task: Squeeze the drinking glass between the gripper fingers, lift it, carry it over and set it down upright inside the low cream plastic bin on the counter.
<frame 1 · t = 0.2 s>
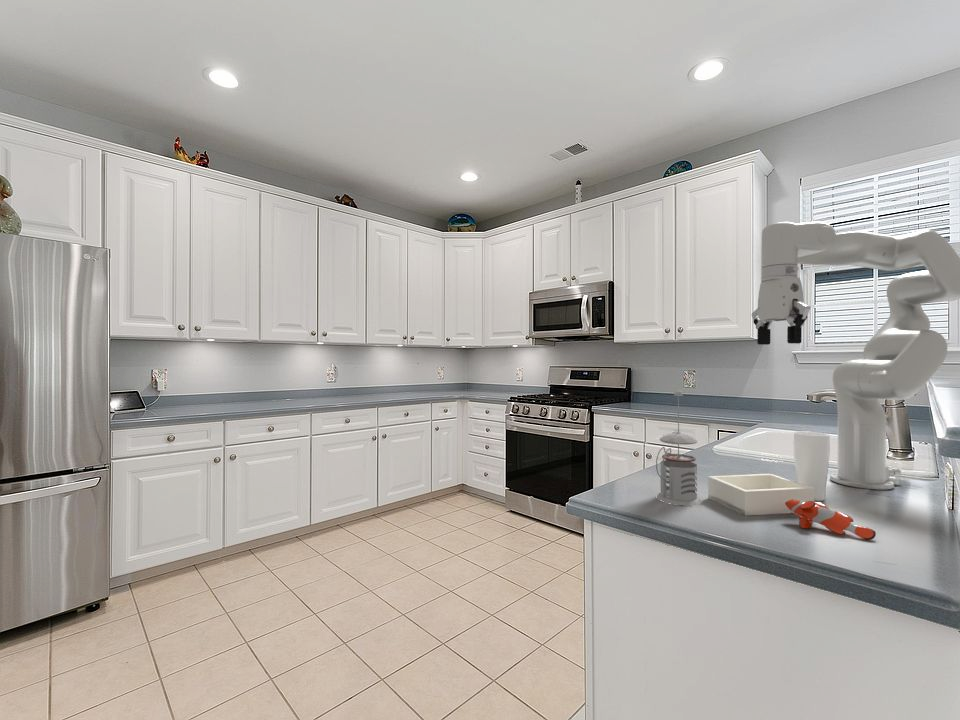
hand: (778, 343, 113), 36 cm above the counter, tool pointing down, fingers open, 9 cm apart
fish: (822, 533, 87), on the counter
bin: (758, 504, 101), on the counter
french press: (676, 500, 105), on the counter
drinking glass: (811, 499, 105), on the counter
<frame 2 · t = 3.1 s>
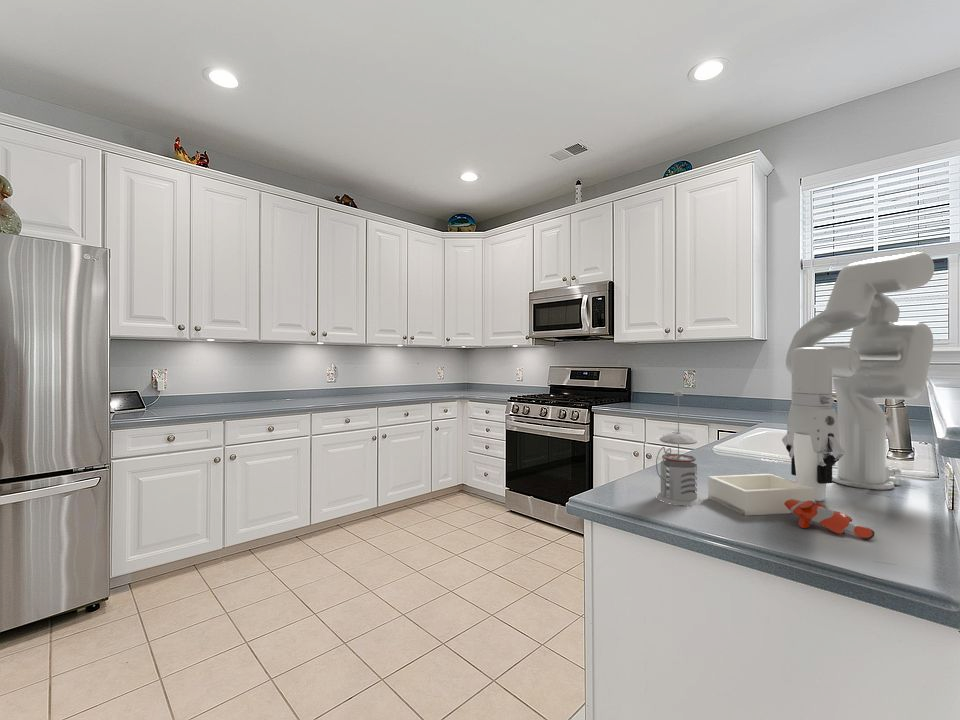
hand: (811, 478, 105), 5 cm above the counter, tool pointing down, fingers closed on drinking glass, 6 cm apart
drinking glass: (811, 499, 105), on the counter, touching gripper
everything else where it was.
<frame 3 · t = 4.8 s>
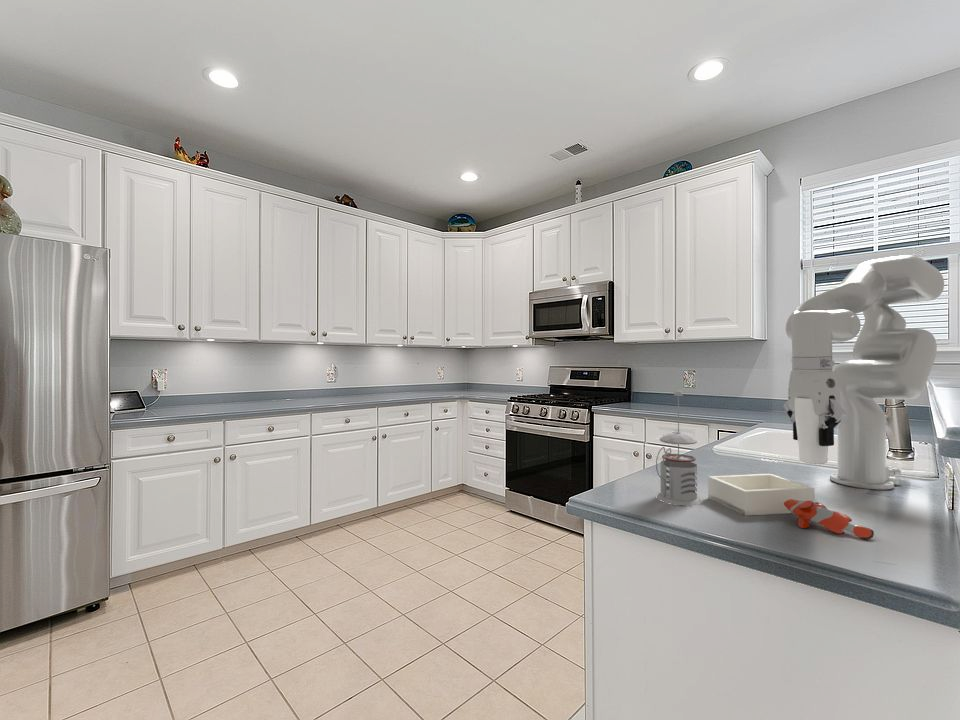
hand: (812, 441, 106), 13 cm above the counter, tool pointing down, fingers closed on drinking glass, 6 cm apart
drinking glass: (813, 463, 106), point 8 cm above the counter, touching gripper
everything else where it was.
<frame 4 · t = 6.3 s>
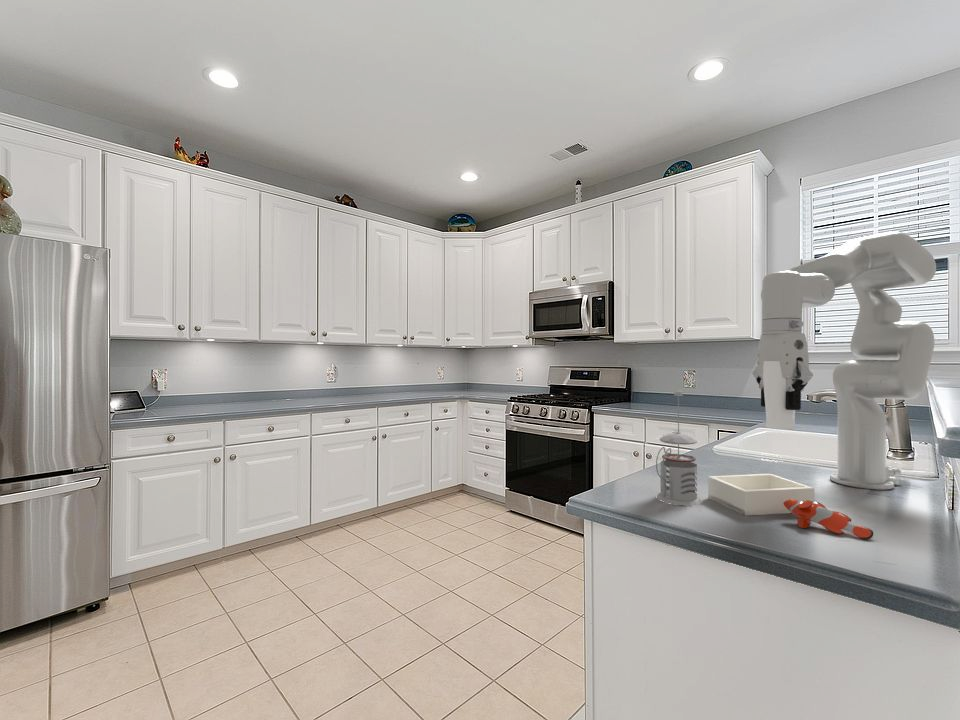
hand: (780, 407, 102), 21 cm above the counter, tool pointing down, fingers closed on drinking glass, 6 cm apart
drinking glass: (779, 429, 102), point 16 cm above the counter, touching gripper
everything else where it was.
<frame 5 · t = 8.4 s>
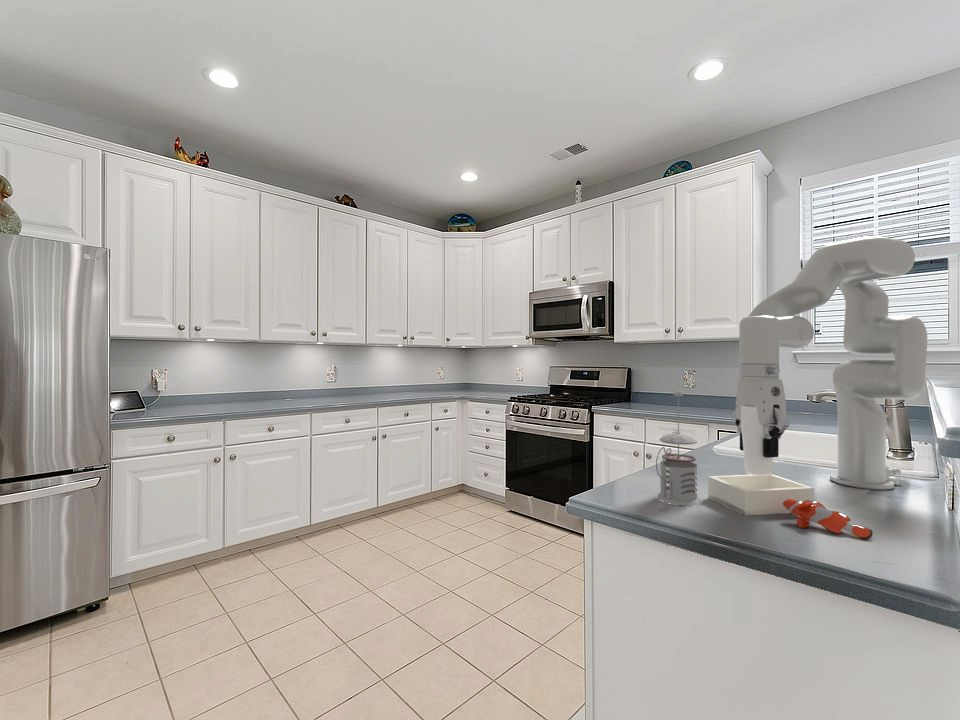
hand: (758, 452, 101), 11 cm above the counter, tool pointing down, fingers closed on drinking glass, 6 cm apart
drinking glass: (758, 474, 101), point 7 cm above the counter, touching gripper
everything else where it was.
when the fingers open (7 cm above the counter, at t = 9.7 s): drinking glass drops 2 cm, resting on bin.
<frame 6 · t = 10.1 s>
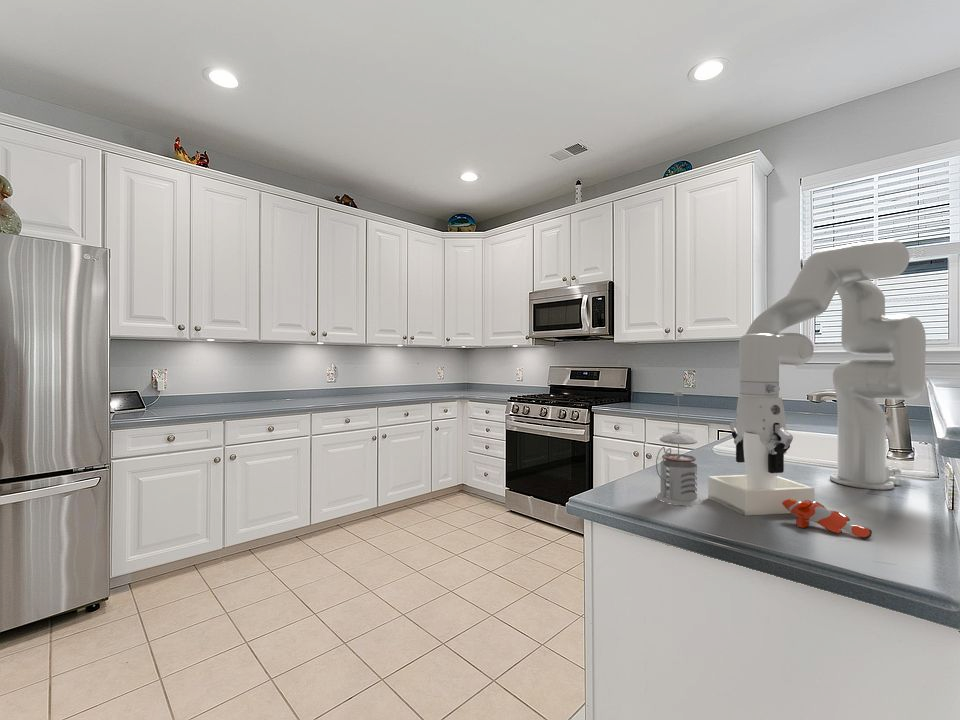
hand: (758, 467, 101), 8 cm above the counter, tool pointing down, fingers open, 9 cm apart
drinking glass: (761, 501, 101), point 1 cm above the counter, touching bin
everything else where it was.
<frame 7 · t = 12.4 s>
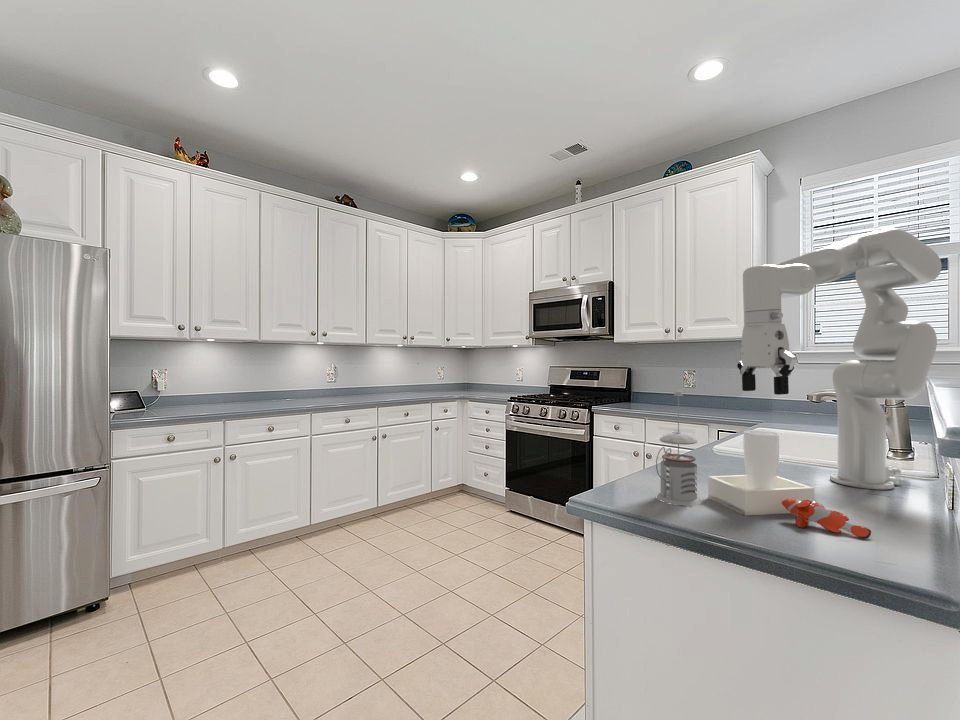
hand: (764, 392, 107), 24 cm above the counter, tool pointing down, fingers open, 9 cm apart
nothing on the counter moved.
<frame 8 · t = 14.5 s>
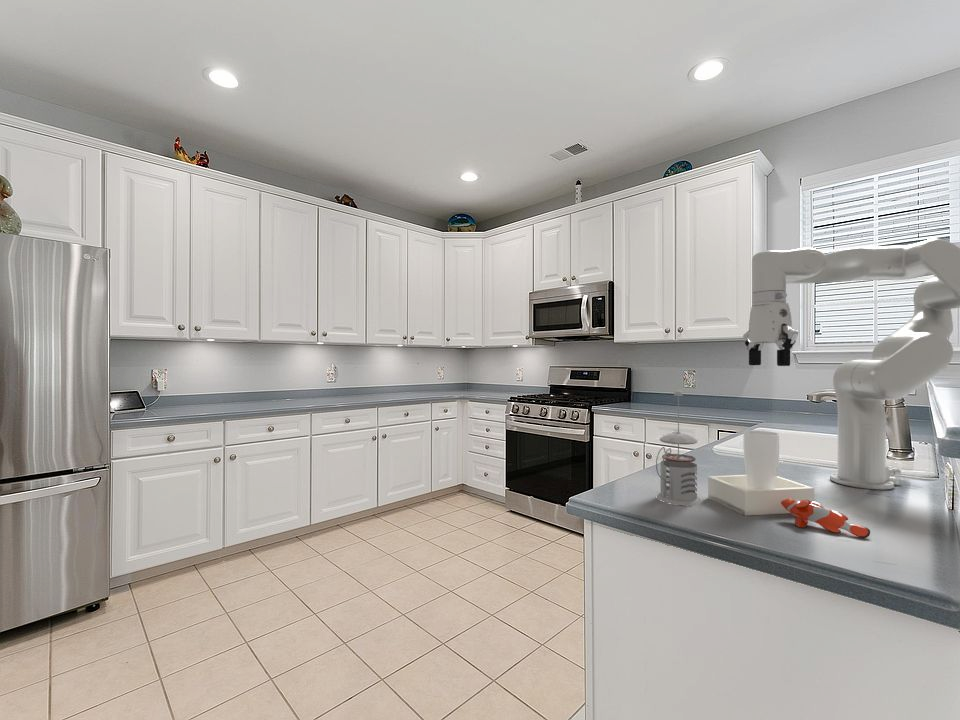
hand: (768, 365, 119), 30 cm above the counter, tool pointing down, fingers open, 9 cm apart
nothing on the counter moved.
at the end: drinking glass inside the target area on the bin (0.5 cm from its centre), point 0.8 cm above the bin's base; drinking glass tilted 0°; the gripper is holding nothing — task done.
